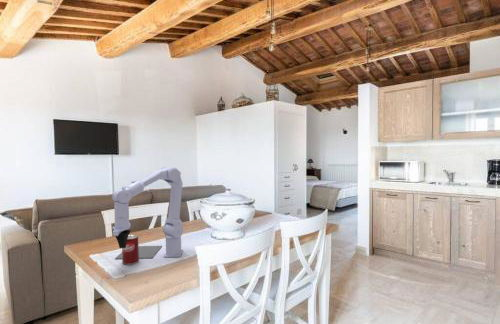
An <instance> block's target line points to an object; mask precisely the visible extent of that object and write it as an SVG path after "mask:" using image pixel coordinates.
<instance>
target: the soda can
mask: <svg viewBox="0 0 500 324" xmlns="http://www.w3.org/2000/svg"><path fill="white" fill-rule="evenodd" d="M139 242H140V241H139V236H138V235H136V234H129V235H128V238H127V243H126V247H125V248H121V253H122V259H121V262H122V264H124V265H129V266H130V265H134V264H137V263H138V262H139V261H140V259H139V246H140V245H139V244H140V243H139Z"/></svg>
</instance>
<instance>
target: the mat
mask: <svg viewBox="0 0 500 324" xmlns="http://www.w3.org/2000/svg"><path fill="white" fill-rule="evenodd" d="M161 248H163V245H139V260H143V259H144V260H146V259H147V260H151V259H153V258H154V257H155V256H156V255H157V253H159V251H161ZM114 260H122V252H120V253H119V254H118V255H117V256H116V257H115V258H114Z"/></svg>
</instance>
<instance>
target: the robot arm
mask: <svg viewBox="0 0 500 324" xmlns="http://www.w3.org/2000/svg"><path fill="white" fill-rule="evenodd" d="M181 174H182V173H181V171H180V170H179V169H178V168H176V167H166V166H163V167H161V168H159V169H157V170H156V171H154V172H152V173H151V174H149V175H148V176H146V177H145V178H143V179H141V180H131V182H130V183H129V184H127V185H125V186H124V185H123V186H122V188H121V189H120V188H119V189H116V190H114V192H113V193H112V195H111V199H112V201H113V202H114V204H113V206H114V226H112V228H111V229H112V230H113V231H112V236H113V237H115V238H116V241H117V243H118V247H119V249H122V248H125V247H126V243H127V238H128V235H130V233H131V229H130V228H131V226H132V225H131V222H130V208H129V202H130V201H131V199H132V198H134V197H135V196H137V195H139V194H141V193H142V192H144V191H145V187H147V186H149V185H151V184H153V183H154V182H157V181H158V180H162V181H165V182H166V183H168V185H169V186H170V194H169V195H170V197H169V204H168V217H167V218H166V219H165V220H164V221H165V222H164V225H163V227H162V232H163V234H164V235H165V236H164V237H165V253H164V255H163V258H179V257H181V256H182V254H183V252H184V249H182V236H183V234H184V227H183V221H182V219H180V218H181V217H180V216H181V204H182V193H183V181H182V178H181Z"/></svg>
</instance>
